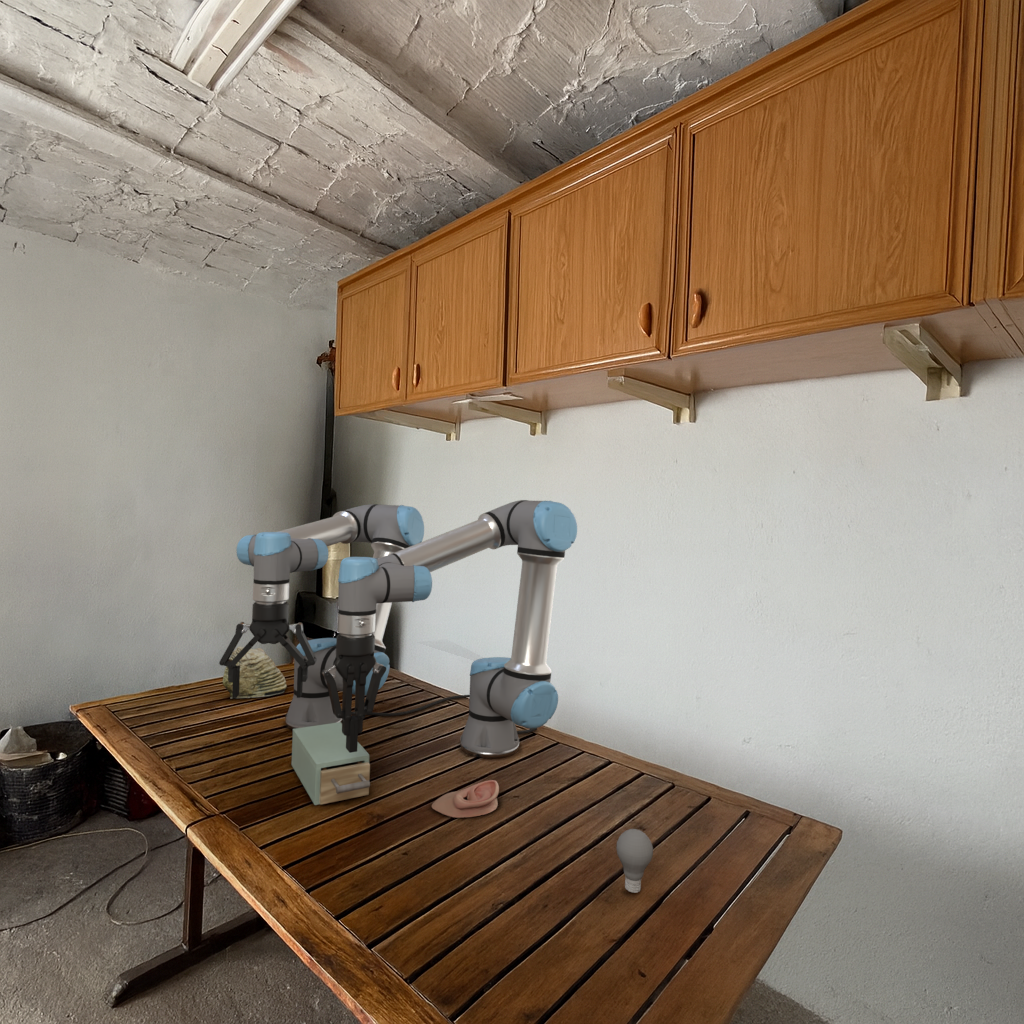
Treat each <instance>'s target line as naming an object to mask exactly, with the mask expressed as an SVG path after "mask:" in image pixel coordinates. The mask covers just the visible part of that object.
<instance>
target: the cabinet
mask: <svg viewBox="0 0 1024 1024" xmlns="http://www.w3.org/2000/svg"><path fill="white" fill-rule="evenodd" d="M291 739H292V740H291V742H292V743H291V767H292V768H293V770H294V772H295V775H297V777H298V779H299V780H300V783H301V784H302V786H303V788H304V789H305V791H306V793H307V794H308V796H309V798H310V800H311V801H312V803H313V805H314V806H319V805H321V804H320V802H319V797H320V772H321V768H325V767H330V766H336V765H342V764H347V763H353V762H358V761H362V763H366V762H369V763H370V754H369V752H367V750H366V749H365V748H364V747H363V746H362V745H361V743H360V742H359V741H358V745H357V752H351V753H350V752H349V751H348V750H347V749H346V736H345V735H344V734H343V733H342V723H341V722H337V723H331V724H324V725H317V726H310V727H303V728H296V729H293V730H292V738H291Z"/></svg>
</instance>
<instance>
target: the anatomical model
mask: <svg viewBox="0 0 1024 1024" xmlns="http://www.w3.org/2000/svg"><path fill="white" fill-rule="evenodd" d="M499 793H500V786H499V782H498V781H497V780H495V779H489V780H485V781H481V782H478V783H475V784H472V785H470V786H467V787H466V788H463V789H461V790H458V791H451V792H447V793H445V794H443V795H442V796H440V797H438V798H437V799H435V800H434V801H433V803H432V804H431V808H432V810H434V811H436V812H438V813H439V814H442V815H444V816H447V817H451V818H454V819H455V818H457V819H459V818H460V819H461V818H463V819H464V818H474V817H480V816H484V815H487V814H490V813H492V812H494V811H495V810H496V809H498V806H499V805H498V804H499V803H498V802H499V801H498V796H499Z"/></svg>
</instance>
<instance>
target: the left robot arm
mask: <svg viewBox="0 0 1024 1024" xmlns="http://www.w3.org/2000/svg"><path fill="white" fill-rule="evenodd" d="M424 523H425V522H424V519H423V515H422V514H421V512H420V511H419V510H418V509H417V508H416V507H414V506H410V505H404V504H400V505H397V504H377V503H370V504H363V505H359V506H355V507H351V508H347V509H344V510H340V511H337V512H335V513H334V514H333V515H332V516H331V517H327V518H323V519H319V520H315V521H313V522H312V521H311V522H308V523H305V524H301V525H297V526H293V527H290V528H286V529H282V530H278V531H262V532H258V533H257V534H248V535H245V536H243V537H242V538H240V539H239V540H238V542H237V545H236V548H235V549H236V557H237V559H238V561H239V562H240V563H242V564H243V565H247V566H251V567H253V583H252V600H253V601H254V602H253V603H252V607H251V609H252V610H251V611H252V612H251V623H246V622H244V621H240V622H239V623H237V625H236V626H235V633H234V635H233V637H232V639H231V640H230V642H229V644H228V646H227V648H226V649H225V651H224V653H223V655H222V657H221V658H220V660H219V663H218V664H219V665H220V666H222V667H223V666H224V667H225V668H226V667H228V681H229V682H233V689H232V698H231V699H238V698H237V696H238V695H239V681H240V666H236V664H237V663H238V662H239V661H240V660H241V658H242V657H243V656H244V655H245V654H246V653H247V652H248V651H249V650H250V649H253V647H254V646H255V645H256V644H257V643H259V644H261V645H267V644H270V645H277V644H280V645H281V646H282V647H284V649H285V650H286V652H288V653H289V654H290V655H291V656H292V659H294V660H293V662H294V663H293V665H294V667H293V695H292V696H293V697H292V699H291V702H290V704H289V708H288V711H286V713H285V716H284V719H285V726H286V728H287V729H289V730H291V731H293V729H296V728H303V727H310V726H317V725H324V724H331V723H337V722H341V723H342V718H337V717H336V716H335V715H334V714H333V710H332V705H331V700H330V696H329V691H328V686H327V681H326V679H325V678H324V676H323V675H322V670H324V669H326V670H327V669H328V668H330V667H331V666H333V662H334V660H335V658H336V643H337V637H322V638H313V639H308V638H307V636H306V634H305V632H304V623H303V622H300V621H299V622H298V623H292V624H290V622H289V605H290V604H289V602H288V601H289V599H290V578H291V577H290V576H291V574H292V573H298V572H306V571H307V572H308V571H310V572H312V571H314V570H318V569H321V568H323V567H324V566H325V565H326V564H327V563H328V560H329V548H328V547H331V546H334V545H336V544H344V545H347V544H351V543H368V544H369V543H370V547H371V549H372V550H373V556H372V558H378V559H379V558H382V557H384V556H387V555H390V554H393V553H395V552H398V551H400V550H403V549H405V548H408V547H410V546H413V545H415V544H418V543H421V542H423V541H424V536H425V524H424ZM392 605H393V602H391V603H377V604H376V619H375V632H374V633H372V634H373V635H374V636H375V647H374V656H375V658H376V662H377V663H379V664H382V665H383V666H385V667H386V672H385V673H384V675H383V676H382V678H381V681H380V685H379V689H378V691H379V690H381V689H382V687H383V686H384V684H385V683H386V681H387V679H388V676H389V674H390V669H391V668H390V667H391V665H390V658H389V656H388V655H387V654H386V649H387V647H386V646H385V644H384V642H383V639H384V635H385V631H386V627H387V625H388V620H389V616H390V613H391V608H392ZM248 630H249V631H250V633H251V634H252V635H253V637H252V638H251V639H250V640H249V641H248V642H247V643H246V645H245V646H243V647H244V648H243V649H242V650H241V651H240V652H239V653H238V654H237V656H236V657H235V658H234V659H233V660H230V657H231V655H232V653H233V652H234V651H235V650H236V648H237V645H238V644H239V642H240V641H241V638H242V637H243V635H244V634H246V633H247V631H248ZM289 631H291V632H292V634H294V635H295V636H296V638H297V640H298V642H299V643H298V644H297V645H295V644H294V643H293V642H292V640H291V639H290V637H289V636H288V635H287V634H288V632H289ZM372 670H373V668H372ZM372 670H371V671H370V672H369V674H368V675H367V677H366V684H365V697H366V695H367V691H368V688H369V684H370V680H371V676H372V674H373V671H372ZM335 673H336V677H335V678H334V680H335V682H336V686H337V691H338V692H342V693H343V681H342V680H343V678H342V677H341V676H340V674H339V673H338V672H337V670H336V672H335ZM355 685H356V682H355V680H354V682H353V687H352V695H353V696H355ZM469 696H470V694H462V695H461V694H460V695H453V696H447V697H444V698H441V699H438V700H435V701H432V702H430V703H426V704H425V705H423V706H420V707H417V708H413V709H409V710H404V711H399V712H376V711H375V712H374V711H373V712H372V713H371V714H367V715H366V716H377V717H378V716H379V717H396V716H397V717H398V716H404V715H409V714H413V713H416V712H419V711H423V710H426V709H427V708H430V707H433V706H435V705H437V704H441V703H444V702H446V701H451V700H456V699H465V698H467V699H468V698H469ZM341 710H342V708H341ZM353 715H355V711H351V716H353Z"/></svg>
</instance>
